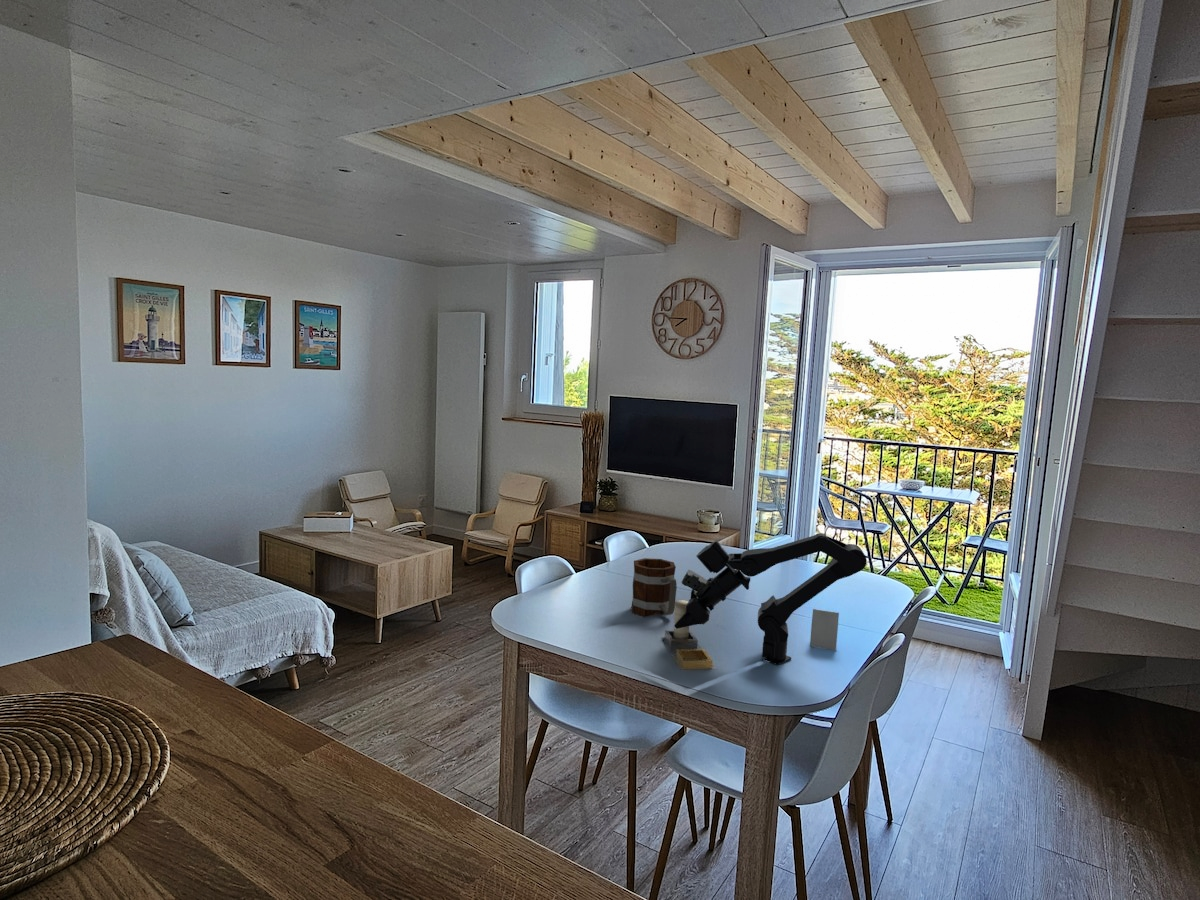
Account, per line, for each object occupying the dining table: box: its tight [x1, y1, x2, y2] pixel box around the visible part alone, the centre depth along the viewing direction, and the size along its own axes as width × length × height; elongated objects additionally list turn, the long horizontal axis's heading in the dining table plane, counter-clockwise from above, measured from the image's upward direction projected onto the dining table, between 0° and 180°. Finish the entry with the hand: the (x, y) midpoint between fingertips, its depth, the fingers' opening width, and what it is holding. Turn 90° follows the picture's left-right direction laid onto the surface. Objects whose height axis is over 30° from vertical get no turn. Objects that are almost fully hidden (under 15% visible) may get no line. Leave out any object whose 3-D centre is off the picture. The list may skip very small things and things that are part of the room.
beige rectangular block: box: [809, 608, 840, 652], centre depth 191 cm, size 4×7×10 cm, turn 69°
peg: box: [673, 599, 690, 639], centre depth 185 cm, size 4×4×11 cm
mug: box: [630, 557, 678, 618], centre depth 211 cm, size 20×14×15 cm
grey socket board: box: [660, 629, 717, 671], centre depth 179 cm, size 21×9×3 cm, turn 8°
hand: (677, 621), depth 186 cm, fingers open, 9 cm apart
